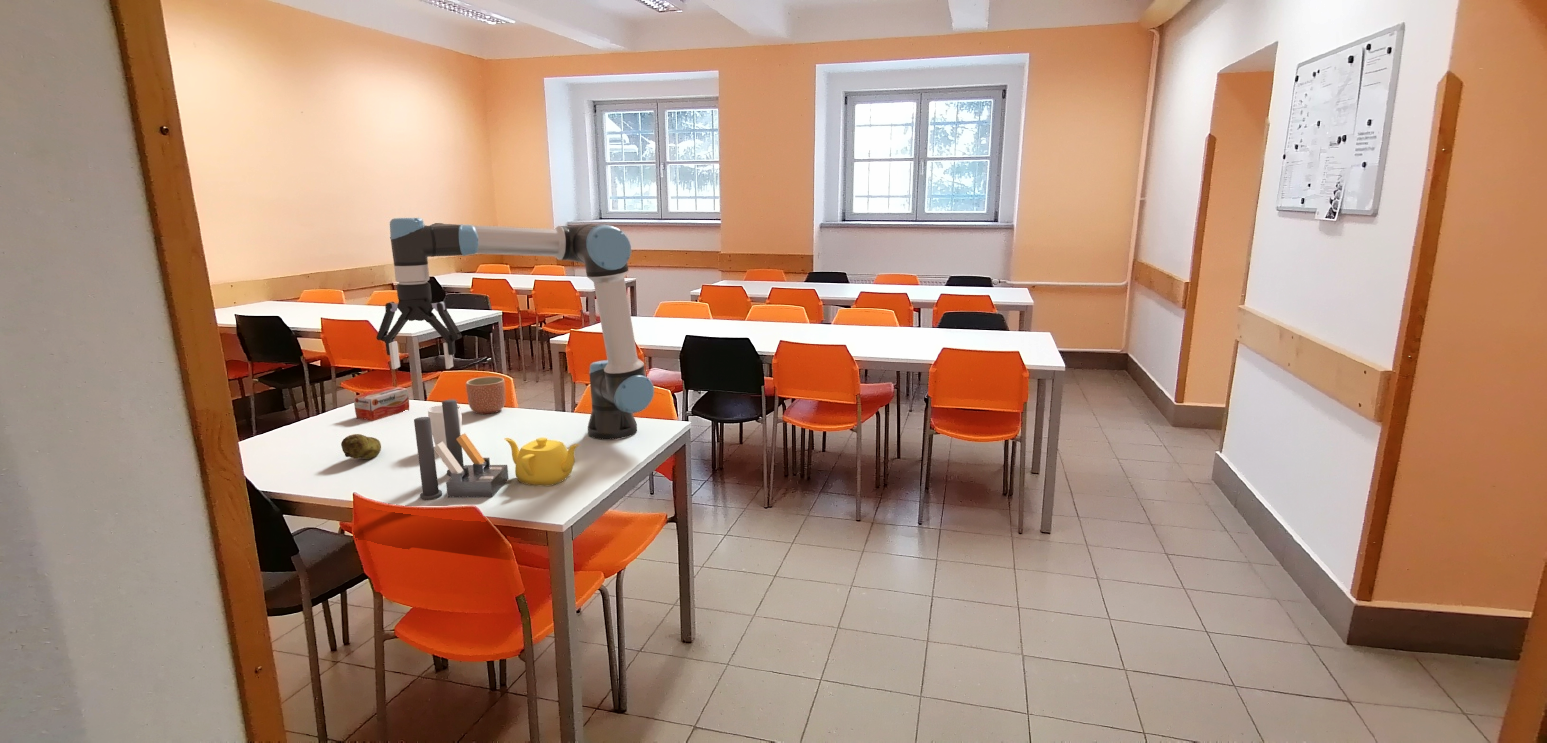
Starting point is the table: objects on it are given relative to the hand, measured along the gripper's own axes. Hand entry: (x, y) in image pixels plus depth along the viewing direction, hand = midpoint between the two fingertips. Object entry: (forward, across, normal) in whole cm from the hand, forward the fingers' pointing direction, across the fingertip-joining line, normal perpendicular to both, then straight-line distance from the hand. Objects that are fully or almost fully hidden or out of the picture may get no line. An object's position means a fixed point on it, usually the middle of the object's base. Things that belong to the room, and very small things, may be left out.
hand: (422, 367), depth 188 cm
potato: (+31, +29, -20) cm, 47 cm away
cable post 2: (+31, -2, -8) cm, 32 cm away
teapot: (+31, -27, -2) cm, 41 cm away
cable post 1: (+31, -2, +8) cm, 32 cm away
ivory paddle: (+26, -9, +7) cm, 28 cm away
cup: (+31, +9, -29) cm, 43 cm away
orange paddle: (+26, -12, 0) cm, 29 cm away
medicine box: (+31, +46, -64) cm, 85 cm away
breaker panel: (+31, -12, +3) cm, 33 cm away
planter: (+31, +11, -67) cm, 74 cm away
